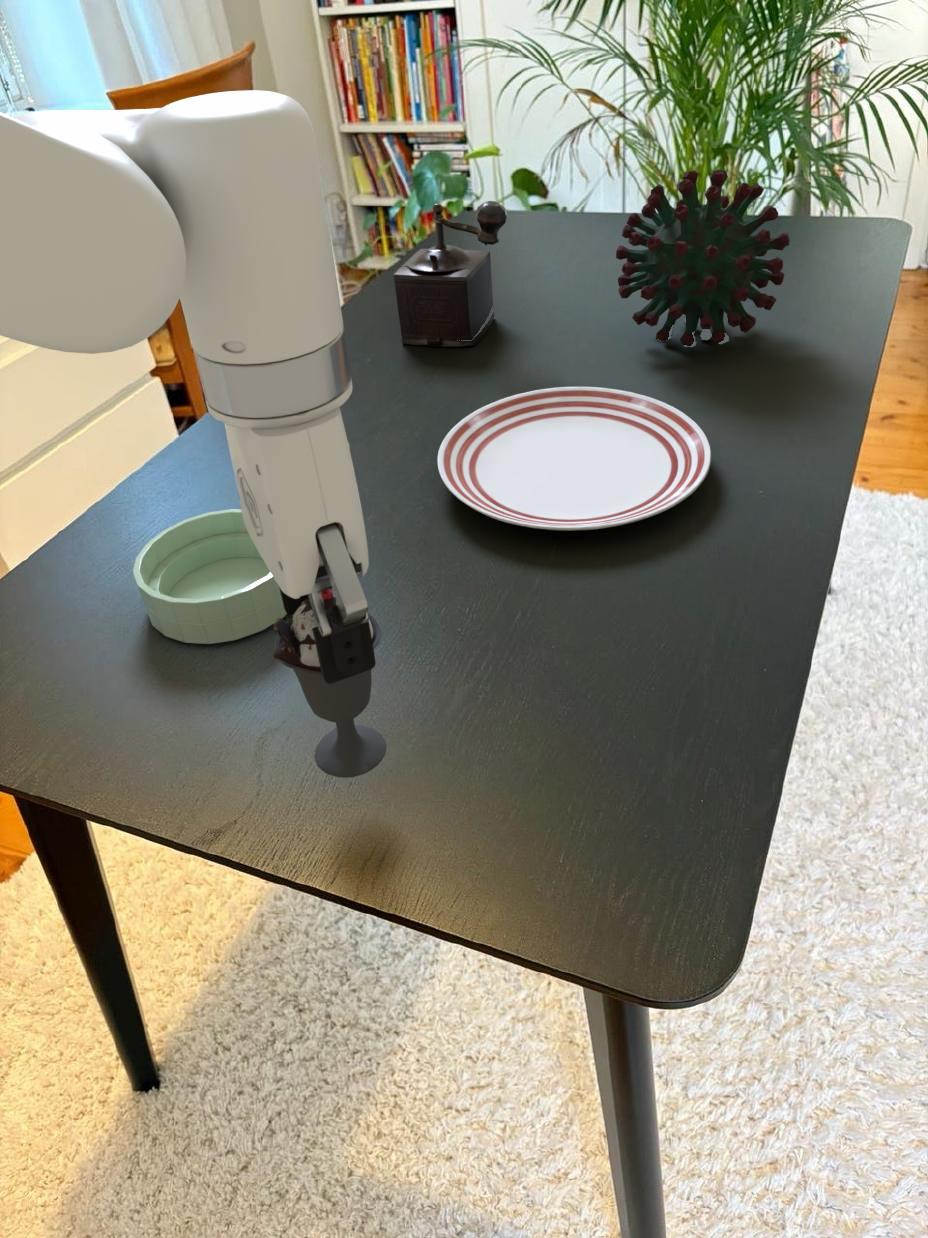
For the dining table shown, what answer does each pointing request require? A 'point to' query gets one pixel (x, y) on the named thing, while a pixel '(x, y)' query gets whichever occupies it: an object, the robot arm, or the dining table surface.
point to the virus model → (700, 258)
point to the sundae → (331, 695)
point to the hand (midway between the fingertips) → (328, 637)
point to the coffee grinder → (449, 285)
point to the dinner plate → (574, 458)
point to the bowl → (207, 581)
